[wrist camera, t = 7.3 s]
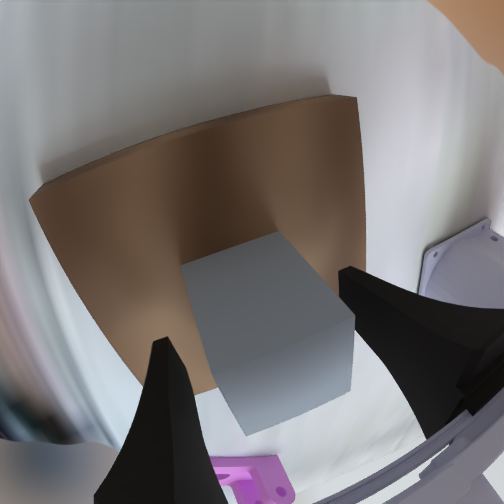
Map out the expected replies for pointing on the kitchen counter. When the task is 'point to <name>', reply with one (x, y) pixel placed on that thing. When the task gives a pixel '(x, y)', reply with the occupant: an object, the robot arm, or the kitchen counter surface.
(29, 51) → the kitchen counter surface
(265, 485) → the bracket
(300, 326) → the slate block
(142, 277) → the walnut board
